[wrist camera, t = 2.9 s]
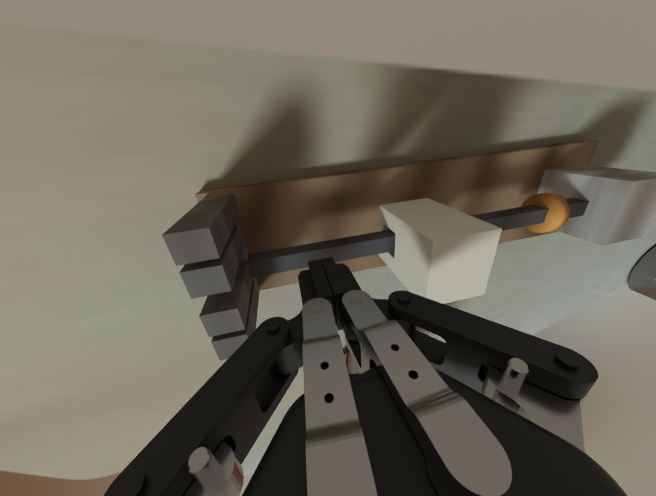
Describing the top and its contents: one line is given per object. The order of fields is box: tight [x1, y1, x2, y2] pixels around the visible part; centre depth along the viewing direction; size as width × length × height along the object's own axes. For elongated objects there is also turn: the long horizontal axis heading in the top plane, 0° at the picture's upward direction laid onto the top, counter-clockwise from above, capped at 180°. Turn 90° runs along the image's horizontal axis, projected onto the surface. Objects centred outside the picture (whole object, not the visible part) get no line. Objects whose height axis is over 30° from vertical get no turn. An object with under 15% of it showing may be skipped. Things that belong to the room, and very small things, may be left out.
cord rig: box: [162, 141, 656, 360], centre depth 18 cm, size 35×9×8 cm, turn 95°
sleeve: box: [379, 198, 502, 304], centre depth 16 cm, size 4×4×7 cm
